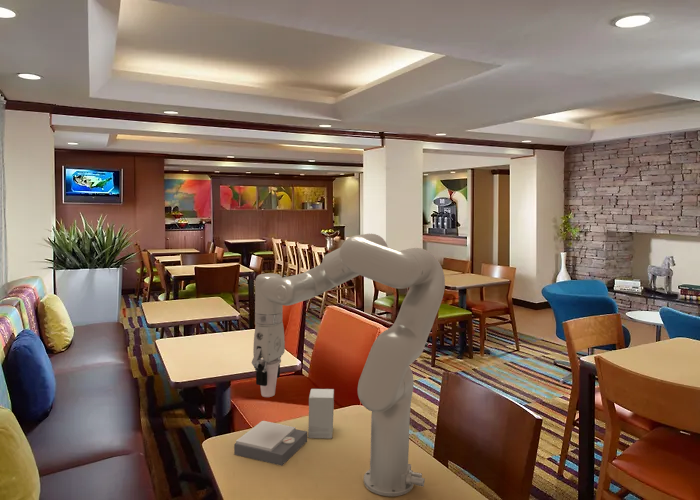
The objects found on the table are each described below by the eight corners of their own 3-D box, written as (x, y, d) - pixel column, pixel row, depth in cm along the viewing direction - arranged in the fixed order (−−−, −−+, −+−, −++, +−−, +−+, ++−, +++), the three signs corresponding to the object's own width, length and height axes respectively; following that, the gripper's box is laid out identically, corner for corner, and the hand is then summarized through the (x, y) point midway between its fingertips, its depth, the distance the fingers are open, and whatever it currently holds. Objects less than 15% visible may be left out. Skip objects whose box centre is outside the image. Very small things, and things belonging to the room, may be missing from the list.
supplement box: (332, 439, 151) (333, 398, 150) (307, 438, 151) (308, 397, 150) (333, 427, 158) (334, 388, 157) (309, 427, 158) (310, 388, 157)
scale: (307, 441, 149) (307, 428, 149) (282, 465, 135) (282, 452, 135) (262, 431, 154) (262, 419, 154) (234, 454, 141) (234, 441, 140)
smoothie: (275, 400, 139) (275, 350, 138) (252, 397, 141) (253, 348, 139) (282, 391, 146) (283, 343, 144) (261, 389, 147) (261, 342, 145)
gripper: (264, 327, 131) (263, 393, 133) (295, 313, 148) (294, 373, 149) (239, 323, 134) (239, 389, 136) (272, 310, 150) (271, 369, 152)
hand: (268, 380), depth 143 cm, fingers closed on smoothie, 6 cm apart
